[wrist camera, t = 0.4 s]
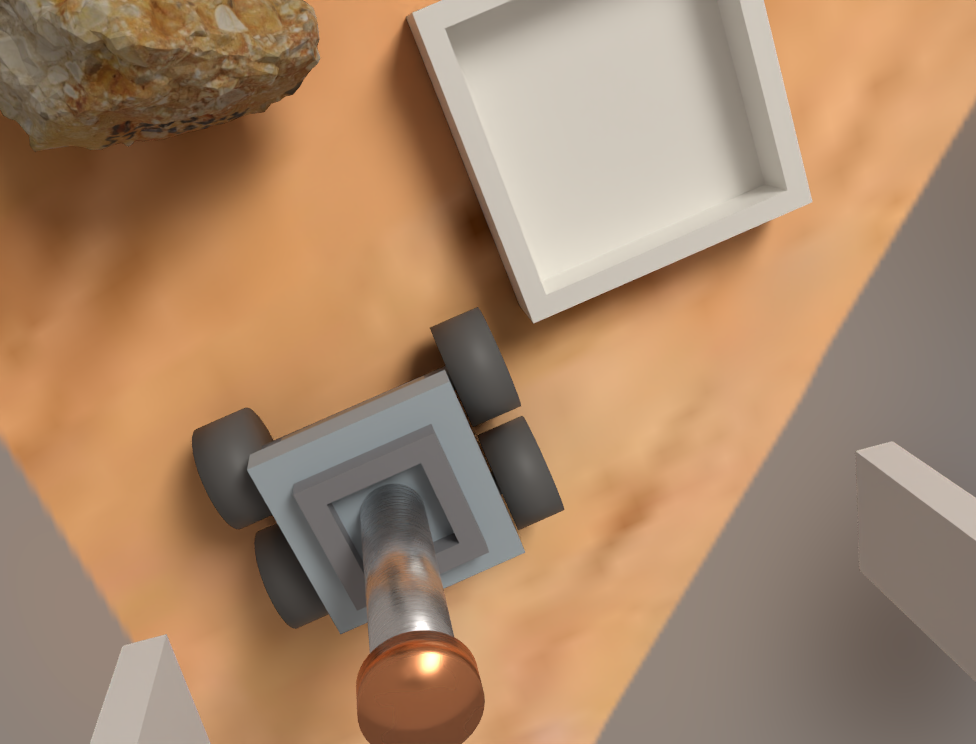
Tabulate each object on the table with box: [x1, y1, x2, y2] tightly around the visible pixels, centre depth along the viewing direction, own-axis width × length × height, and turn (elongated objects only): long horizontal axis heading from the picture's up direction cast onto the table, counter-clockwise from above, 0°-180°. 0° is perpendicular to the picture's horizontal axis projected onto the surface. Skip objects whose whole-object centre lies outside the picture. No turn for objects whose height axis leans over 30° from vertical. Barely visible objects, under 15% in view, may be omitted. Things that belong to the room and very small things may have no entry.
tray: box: [406, 0, 812, 323], centre depth 39 cm, size 14×14×3 cm
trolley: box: [192, 307, 564, 634], centre depth 40 cm, size 11×14×8 cm
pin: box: [356, 484, 485, 744], centre depth 32 cm, size 4×4×12 cm
